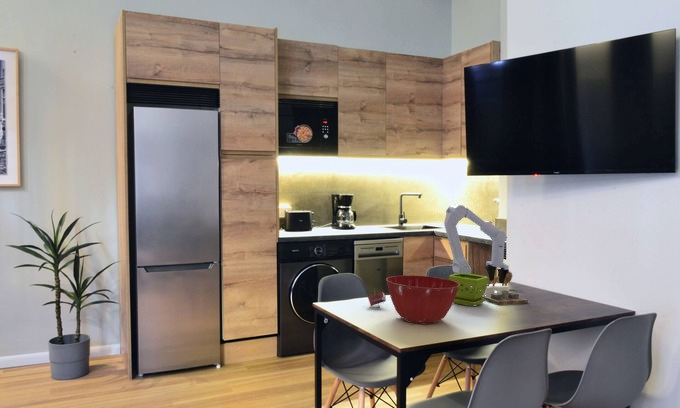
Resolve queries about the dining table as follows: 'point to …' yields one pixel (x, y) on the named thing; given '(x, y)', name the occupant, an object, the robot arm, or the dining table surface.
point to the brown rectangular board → (505, 298)
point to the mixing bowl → (422, 297)
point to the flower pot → (469, 288)
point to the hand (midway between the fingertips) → (496, 281)
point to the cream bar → (492, 289)
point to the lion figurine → (496, 279)
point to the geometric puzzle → (377, 298)
